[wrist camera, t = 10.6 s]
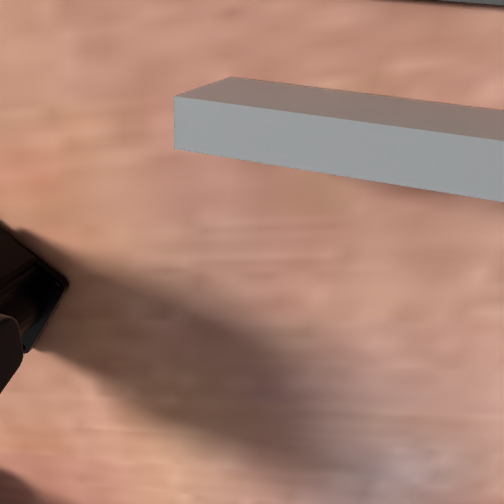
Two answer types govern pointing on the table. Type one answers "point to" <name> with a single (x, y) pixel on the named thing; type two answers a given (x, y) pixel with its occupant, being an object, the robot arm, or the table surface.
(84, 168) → the table surface
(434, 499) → the table surface
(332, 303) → the table surface
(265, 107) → the wall
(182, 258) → the table surface
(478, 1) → the mat
